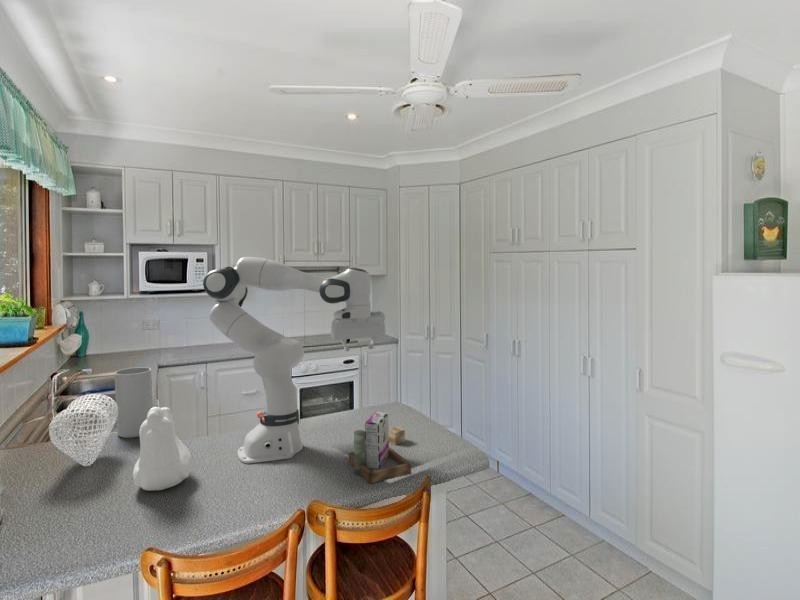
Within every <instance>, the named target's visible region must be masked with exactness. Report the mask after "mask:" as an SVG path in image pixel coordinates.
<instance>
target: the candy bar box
mask: <svg viewBox="0 0 800 600" xmlns="http://www.w3.org/2000/svg"><path fill="white" fill-rule="evenodd" d="M388 429H389V413H388V412H382V411H375V412H374V413H372V414H371V415H370V417H369V418H367V420H366V421H365V422H364V431H365V444H366V467H367V468H368V469H369V470H370V471H371V472H372V471H374V470H373V469H378V470H380V469H381V468H382V467H383V465H384V463H386V461H387V459H388V457H389V456H390V455H389V447H390V446H389V445H390V444H389V436H388Z"/></svg>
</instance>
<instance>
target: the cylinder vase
mask: <svg viewBox="0 0 800 600" xmlns="http://www.w3.org/2000/svg"><path fill="white" fill-rule="evenodd" d="M113 374H114V390H115V391H114V393H115V402H116V403H117V407H118V416H117V420H116V427H117V436H118V437H120V438H125V439H129V438H130V439H131V438H133V439H134V438H138V437H139V438H140V436H139V431H140V427H141V425H142V423H143V422H144V421H145V420H146V419H147V414H148V412H149V410H150V409H151V408H153V407H154V406H153V405H154V403H153V402H154V401H153V385H152V384H153V383H152V380H153V379H152V368H150V367H145V366H144V367H143V366H142V367H141V366H140V367H137V366H136V367H129V368H123V369H119V370H117V371H115V372H114V373H113Z"/></svg>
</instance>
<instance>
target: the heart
mask: <svg viewBox="0 0 800 600" xmlns="http://www.w3.org/2000/svg"><path fill="white" fill-rule="evenodd" d="M106 404H107V405H106ZM87 410H88V411H87ZM77 414H78V415H77ZM91 415H92V416H91ZM90 416H91V417H90ZM117 416H118V407H117V403H116V400H114V399H113V397H110V396H108V395H105V394H103V393H89V394H84V395H81V396H78V397H77V398H75V399H74V400H73V401H71V403H69V405H68V406H67V408H65V409H63V410H62V411H60V412H59V413H58V414H56V415H55V416H54V417H53V419H52V420H51V421H50V423H49V425H48V436H49V439H50V441H51V443H52V444H53V445H54V447H56V448H57V449H58V450H59V451H61V452H62V453H64V454H65V455H67V456H68V457H70V458H71V459H72V460H74V461H75V462H76V463H78V464H79V465H80V466H82V467H90V466H91V464H92V465H93V464H94V463H95V461H96V460H97V458H98V456H99V455H100V453H101V451H102V450H103V448H104V445H105V444H106V442H107V440H108V438H109V436H110V435H111V432H112V430H113V429H114V426H115V424H116V423H117ZM74 420H75V421H74ZM90 421H92V423H90ZM95 421H96V423H95ZM90 426H91V429H89V428H90ZM74 427H75V428H74ZM94 427H95V428H94ZM89 433H90V434H89ZM80 441H81V443H80ZM76 442H77V443H76ZM88 462H89V463H88ZM87 463H88V464H87Z"/></svg>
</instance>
